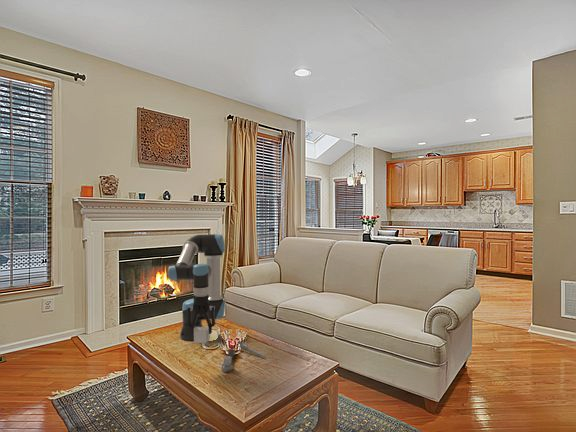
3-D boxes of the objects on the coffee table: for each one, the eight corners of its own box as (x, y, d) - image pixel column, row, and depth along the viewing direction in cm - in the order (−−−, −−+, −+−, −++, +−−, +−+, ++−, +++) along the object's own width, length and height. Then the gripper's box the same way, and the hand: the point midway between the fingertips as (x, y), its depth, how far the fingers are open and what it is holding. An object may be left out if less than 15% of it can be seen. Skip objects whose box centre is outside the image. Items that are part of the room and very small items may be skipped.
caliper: (237, 351, 196) (236, 340, 195) (238, 350, 197) (238, 339, 196) (266, 359, 185) (265, 348, 185) (267, 358, 186) (267, 347, 185)
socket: (197, 338, 177) (197, 326, 176) (209, 338, 177) (208, 326, 176) (194, 343, 171) (194, 331, 170) (206, 342, 171) (206, 331, 170)
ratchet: (232, 372, 170) (231, 359, 170) (220, 372, 170) (220, 360, 170) (237, 353, 192) (237, 342, 192) (227, 353, 192) (227, 342, 192)
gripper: (180, 297, 169) (181, 343, 170) (218, 296, 169) (219, 342, 170) (184, 293, 177) (185, 337, 177) (221, 292, 177) (222, 336, 178)
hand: (201, 339), depth 174 cm, fingers closed on socket, 6 cm apart
